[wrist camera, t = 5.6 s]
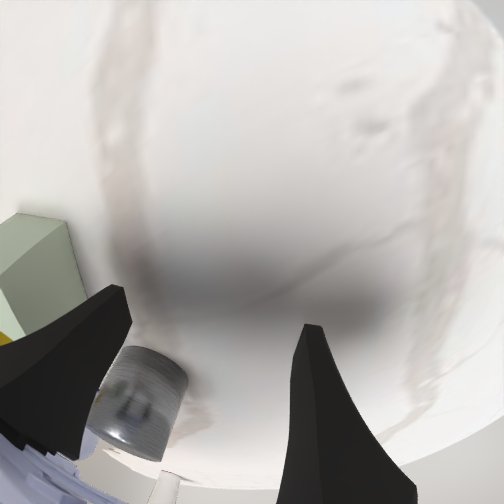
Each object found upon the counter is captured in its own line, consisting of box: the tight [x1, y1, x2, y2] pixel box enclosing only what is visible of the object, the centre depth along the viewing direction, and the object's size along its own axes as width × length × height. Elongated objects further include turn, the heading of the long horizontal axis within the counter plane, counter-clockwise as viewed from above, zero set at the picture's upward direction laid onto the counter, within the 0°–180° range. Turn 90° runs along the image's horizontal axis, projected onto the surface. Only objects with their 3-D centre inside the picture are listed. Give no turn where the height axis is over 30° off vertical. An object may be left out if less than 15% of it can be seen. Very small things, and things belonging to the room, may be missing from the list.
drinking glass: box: [147, 471, 181, 504], centre depth 40 cm, size 7×7×15 cm
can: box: [85, 346, 188, 462], centre depth 14 cm, size 5×5×6 cm
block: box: [0, 213, 88, 341], centre depth 10 cm, size 5×5×5 cm
